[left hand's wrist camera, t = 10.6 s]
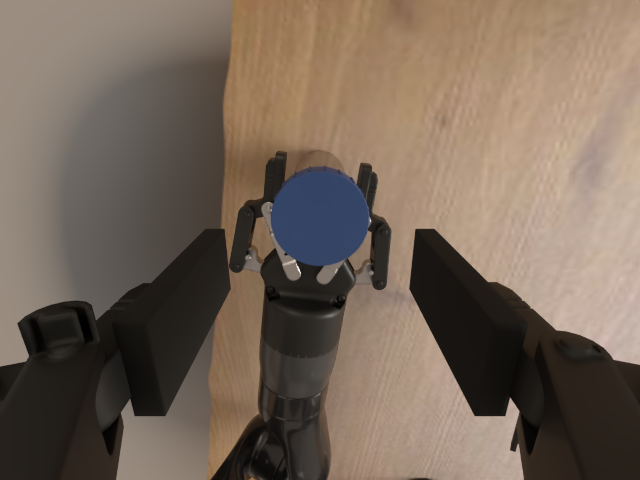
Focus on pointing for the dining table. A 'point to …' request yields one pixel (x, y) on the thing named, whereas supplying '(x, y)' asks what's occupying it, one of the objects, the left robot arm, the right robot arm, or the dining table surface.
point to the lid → (319, 216)
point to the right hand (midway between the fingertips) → (323, 159)
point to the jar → (320, 161)
